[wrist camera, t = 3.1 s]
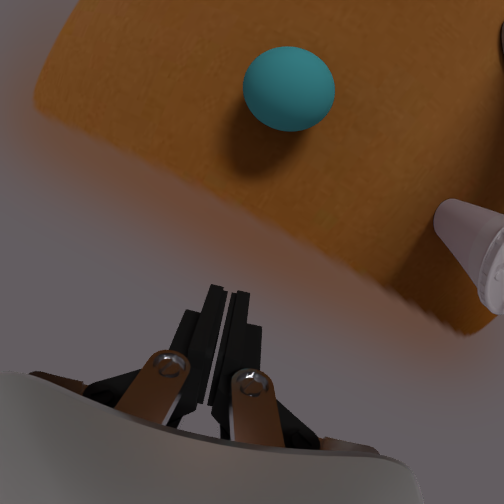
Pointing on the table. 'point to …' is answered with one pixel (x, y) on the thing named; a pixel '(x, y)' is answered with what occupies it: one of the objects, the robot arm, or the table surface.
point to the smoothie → (475, 246)
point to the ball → (288, 89)
